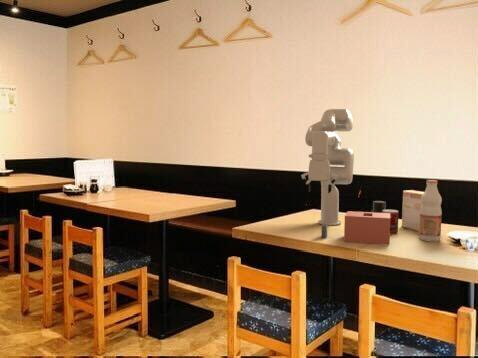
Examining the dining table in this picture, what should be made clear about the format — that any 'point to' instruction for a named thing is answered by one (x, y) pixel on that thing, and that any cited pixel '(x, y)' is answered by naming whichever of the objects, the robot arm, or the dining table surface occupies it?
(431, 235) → the fruit juice
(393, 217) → the canned food
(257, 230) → the dining table surface
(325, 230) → the block
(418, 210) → the coffeecake box
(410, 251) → the dining table surface
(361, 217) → the box
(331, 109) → the robot arm
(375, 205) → the ink bottle
